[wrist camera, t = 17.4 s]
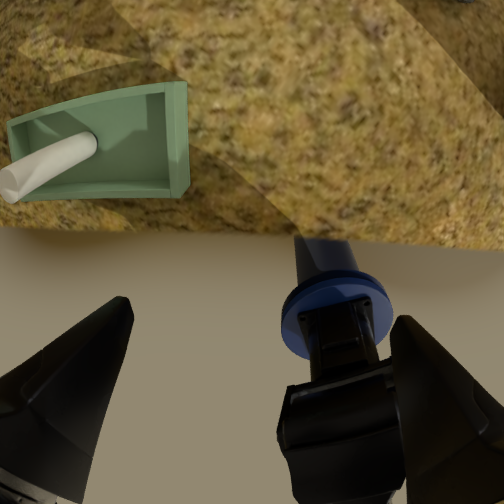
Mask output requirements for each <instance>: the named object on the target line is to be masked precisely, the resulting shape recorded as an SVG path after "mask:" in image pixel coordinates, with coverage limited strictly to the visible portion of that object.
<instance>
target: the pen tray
mask: <svg viewBox="0 0 504 504" xmlns="http://www.w3.org/2000/svg"><path fill="white" fill-rule="evenodd" d="M6 124H7V132H8V140H9V147H10V153H11V159H12V163H14V162H16V161H18V160H20V159H22V158H24V157H26V156H28V155H30V154H32V153H34V152H36V151H38V150H40V149H42V148H45V147H47V146H49V145H51V144H54V143H56V142H58V141H61V140H63V139H66V138H68V137H71V136H73V135H76V134H78V133H81V132H84V131H88V132H90V133H93V134H95V135H96V137H97V139H98V147H97V149H96V151H95V153H94V154H93V155H92V156H91V157H89V158H87V159H85V160H84V161H82V162H80V163H78V164H76V165H74V166H73V167H71V168H69V169H67V170H66V171H64V172H62V173H60V174H59V175H57V176H55V177H54V178H52V179H50V180H49V181H47V182H45V183H44V184H42V185H41V186H39V187H38V188H36V189H34V190H33V191H31V192H30V193H28V194H27V195H25V196H24V197H22V198H21V202H27V201H44V200H65V199H96V198H181V196H182V195H183V194H184V193H185V191H186V190H187V189H188V187H189V186H190V185H191V183H190V165H189V143H188V110H187V82H186V81H172V82H163V83H154V84H147V85H140V86H133V87H127V88H122V89H116V90H111V91H106V92H101V93H97V94H92V95H88V96H84V97H80V98H76V99H72V100H68V101H65V102H61V103H58V104H55V105H51V106H48V107H45V108H42V109H39V110H36V111H33V112H30V113H27V114H24V115H22V116H19V117H16V118H14V119H11V120H9V121H7V122H6Z"/></svg>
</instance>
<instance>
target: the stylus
mask: <svg viewBox="0 0 504 504" xmlns="http://www.w3.org/2000/svg"><path fill="white" fill-rule="evenodd" d="M97 147H98V139H97V137H96V135H95V134H93V133H90V132H88V131H84V132H81V133H78V134H76V135H73V136H71V137H68V138H66V139H63V140H61V141H58V142H56V143H54V144H51V145H49V146H47V147H45V148H42V149H40V150H38V151H36V152H34V153H32V154H30V155H28V156H26V157H24V158H22V159H20V160H18V161H16V162H14V163H12V164H10V165H8V166H6V167H4V168H3V169H1V170H0V194H1V196H2V197H3V199H4V200H5V201H6V202H8V203H11V204H13V203H15V202H17V201H18V200H19V199H21V198H22V197H24V196H25V195H27V194H28V193H30V192H31V191H33V190H34V189H36V188H38V187H39V186H41V185H42V184H44V183H45V182H47V181H49V180H50V179H52V178H54V177H55V176H57V175H59V174H60V173H62V172H64V171H66V170H67V169H69V168H71V167H73V166H74V165H76V164H78V163H80V162H82V161H84V160H85V159H87V158H89V157H91V156H92V155H93V154H94V153H95V151H96V149H97Z"/></svg>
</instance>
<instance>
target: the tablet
mask: <svg viewBox="0 0 504 504" xmlns="http://www.w3.org/2000/svg"><path fill="white" fill-rule="evenodd" d="M458 1H460V2H463V3H472V2H474V0H458Z"/></svg>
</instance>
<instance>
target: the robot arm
mask: <svg viewBox="0 0 504 504" xmlns="http://www.w3.org/2000/svg"><path fill="white" fill-rule="evenodd" d="M365 302H367V303H365ZM302 317H304V318H302ZM297 321H298V323H299V326H300V329H301V332H302V335H303V338H304V340H305V343H306V346H307V349H308V352H309V357H310V373H311V382H308V383H303V384H299V385H290V386H287V390H286V394H285V397H284V401H283V406H282V410H281V414H280V418H279V422H278V426H277V431H276V433H277V441H278V443H279V446H280V449H281V452H282V454H283V456H284V457H285V458H286V460H287V463H288V466H289V471H290V475H291V483H292V492H293V496H294V498H295V499H296V501H297V502H298V503H299V504H392V497H393V495H394V494H395V492H396V490H400V489H401V487H402V485H403V483H404V480H405V478H406V480H407V481H406V488H407V504H504V407H503V406H502V405H501V404H500V403H498V402H497V401H496V400H495V399H494V398H493V397H492V396H491V395H490V394H489V393H488V392H487V391H486V390H485V389H484V388H483V387H482V386H481V385H480V384H479V383H478V382H477V381H476V380H475V379H474V378H473V377H472V375H470V373H469V372H468V371H467V370H466V369H465V368H464V367H463V366H462V365H461V364H460V363H459V362H458V361H457V360H456V359H455V358H454V357H453V356H452V355H451V354H450V353H449V352H448V351H447V350H446V349H445V348H444V347H443V346H442V345H441V344H440V343H439V342H438V341H437V340H435V338H434V337H432V336H431V335H430V334H429V333H428V332H427V331H426V330H425V329H424V328H423V327H422V326H421V325H420V324H419V323H418V322H417V321H416V320H415V319H413V318H412V317H411V316H410V315H400V316H398V317H397V319H396V321H395V324H394V325H393V328H392V330H391V332H390V347H391V356H390V358H387V359H384V360H382V361H380V360H379V356H378V352H377V348H376V345H375V331H374V316H373V304H372V300H371V298H370V297H369V296H365V297H361V298H357V299H353V300H349V301H345V302H341V303H337V304H333V305H329V306H324V307H320V308H316V309H311V310H307V311H302V312H299V313H298V314H297ZM133 322H134V313H133V310H132V307H131V304H130V301H129V299H128V298H127V297H122V296H116V297H115V298H113V299H112V300H110V301H109V302H107V303H106V304H104V305H103V306H101V307H100V308H99V309H97V310H96V311H94V312H93V313H91V314H90V315H89V316H87V317H86V318H84V319H83V320H81V321H80V322H79V323H77V324H76V325H75V326H73V327H72V328H70V329H69V330H68V331H66V332H65V333H63V334H62V335H61V336H59V337H58V338H56V339H55V340H54V341H52V342H51V343H50V344H48V345H47V346H45V347H44V348H43V350H40V351H39V352H37V353H36V354H35V355H33V356H32V357H30V358H29V359H28V360H26V361H25V362H23V363H22V364H21V365H19V366H17V367H16V368H14V369H13V370H11V371H10V372H8V373H6V374H5V375H3V376H2V377H0V504H57V502H56V499H57V496H59V497H62V498H64V499H67V500H70V501H73V502H75V503H78V504H82V502H83V498H84V493H85V489H86V484H87V480H88V476H89V472H90V468H91V464H92V460H93V458H92V457H93V456H94V452H95V448H96V445H97V441H98V437H99V434H100V430H101V427H102V424H103V420H104V417H105V414H106V411H107V407H108V404H109V401H110V398H111V395H112V392H113V389H114V386H115V383H116V380H117V378H118V374H119V372H120V369H121V366H122V363H123V360H124V357H125V354H126V350H127V345H128V342H129V338H130V334H131V330H132V326H133Z"/></svg>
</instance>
